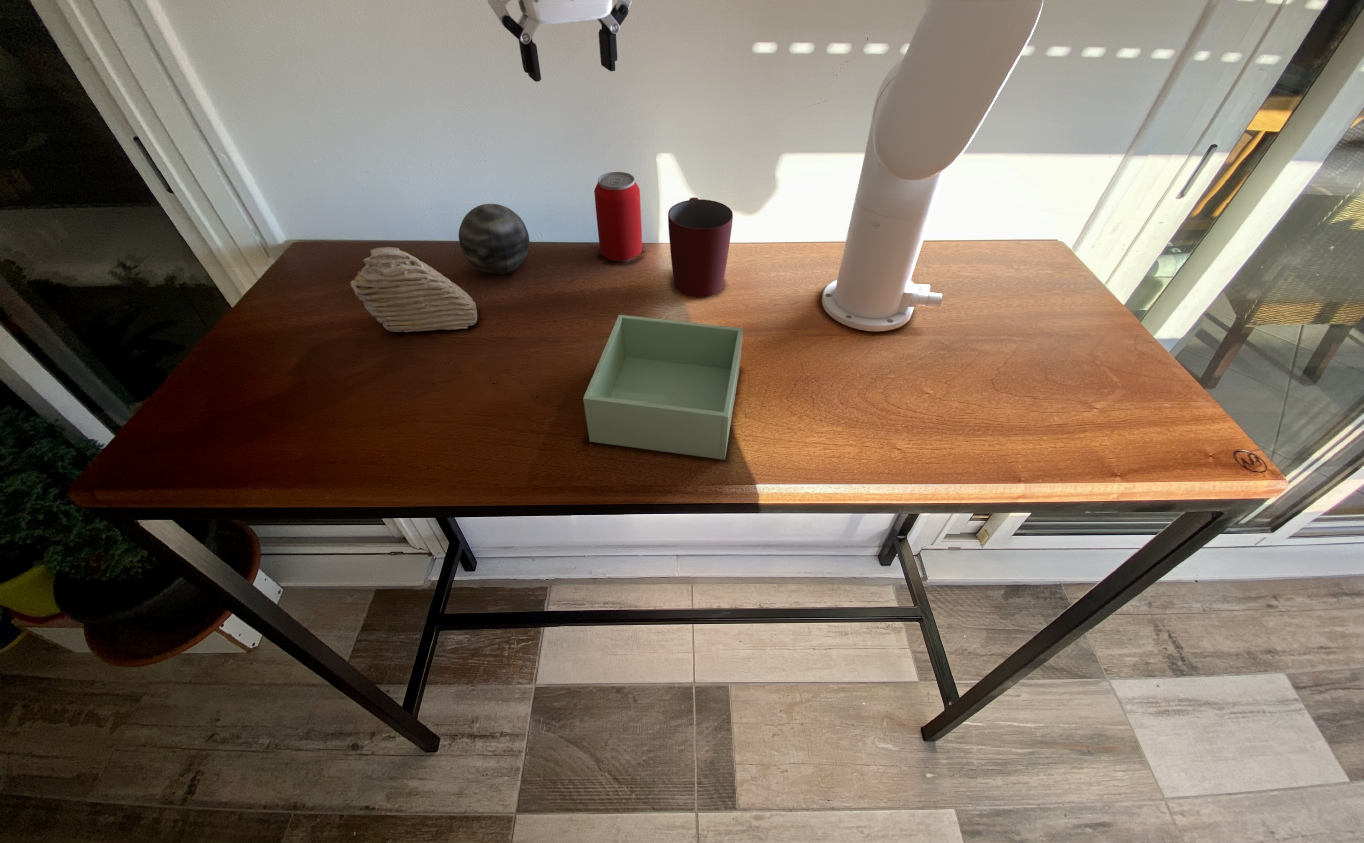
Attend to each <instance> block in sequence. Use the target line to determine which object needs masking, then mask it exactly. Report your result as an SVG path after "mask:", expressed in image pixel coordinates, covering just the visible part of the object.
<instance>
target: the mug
mask: <svg viewBox="0 0 1364 843" xmlns="http://www.w3.org/2000/svg"><path fill="white" fill-rule="evenodd" d="M667 212H668V213H667V225H668V239H669V249H670V260H671V270H672V280H673V287H674V288H675V289H676V290H677V292H679V293H681V294H682V295H686V296H688V297H693V298H694V297H695V298H704V297H711V296H713V295H715V294H717V293H719V292H720V291H721V290H722V288H723V287H724V281H725V275H726V268H727V263H728V256H729V249H730V243H731V237H732V230H733V229H732V228H733V220H734V219H733V218H734V213H733V211H732V209H731V208H730V207H729V206H727V205H726V204H724V203H722V202H719V201H717V200H711V199H699V198H698V197H690V198H689V199H688V200H687V199H686V200H683V201H680V202H677V203H675V204H673V205H672V206H671V207H670V208H669V210H668V211H667Z"/></svg>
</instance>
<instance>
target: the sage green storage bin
mask: <svg viewBox="0 0 1364 843" xmlns="http://www.w3.org/2000/svg"><path fill="white" fill-rule="evenodd" d="M743 335H744V328H743V327H736V326H726V325H719V324H718V325H717V324H708V323H700V322H690V321H689V322H688V321H681V320H672V319H671V320H670V319H663V318H653V317H643V316H634V315H627V314H618V316H617V318H616V320H615V323H614V325H613V327H612V330H611V332H610V334H609V337H608V340H607V342H606V344H605V346H604V349H603V351H602V354H601V355H600V358H599V359H598V362H597V364H596V367H595V370H594V372H593V375H592V377H591V379H590V381H589V384H588V386H587V388H586V391H585V393H584V396H583V398H582V401H583V407H584V413H585V414H584V415H585V420H586V427H587V433H588V440H589V443H591V442H592V443H596V444H597V443H598V444H605V445H612V446H620V447H627V448H635V449H640V450H641V449H642V450H648V451H649V450H650V451H656V452H664V453H672V454H679V455H685V456H695V457H700V458H701V457H702V458H707V459H708V458H709V459H717V460H723V461H724V460H726V455H727V449H728V443H729V436H730V431H731V425H732V419H733V413H734V406H735V400H736V394H737V387H738V382H739V376H740V368H741V357H742V349H743V338H744V336H743Z"/></svg>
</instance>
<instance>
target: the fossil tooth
mask: <svg viewBox="0 0 1364 843" xmlns="http://www.w3.org/2000/svg"><path fill="white" fill-rule="evenodd" d="M369 250H370V254H371V255H370V256H369V257H368V256H367V257H366V258H364V259H363V260H362V262H363V263H364V264H365V266H364V267H363V268H361V270H360V271H357V275H356V276H355V277H354V279H352V280H351V281H350V283H349V285H350V287H351V288H352V290H353V291H354V294H355V296H356V297H357V298H358V300H359V301H361V302H363V305H364V308H365V310H366V311H367V312H368V313H369V314H370V315H371V316H372V317H373V318H375V319H376V321H377V322H378V323H380V324H382V327H383V328H384V330H386V331H389V332H393V333H400V332H404V333H410V332H426V331H437V330H447V331H450V330H451V331H452V330H460V329H469V326H474V325H475V324H476V323H477V321H478V310H477V305H476V302H475V301H474V300H473V298H472V297H471V296H470V295H469V294H468V292H466V291H465V290H464V289H462V288H461V286H458V284H456V283H454V282H453V281H451V280H450V279H449V278H448V277H446V276H444V275H443V274H442V273H441V272H439V271H437V270H436V269H435V268H433V267H432V266H430V265H428V264H427V263H425V262H424V261H421V260H420V259H418V258H417V257H415V256H414V255H412V254H410V253H408V252H407V251H403V250H401V249H400V248H398V247H393V246H392V247H390V246H385V247H375V248H372V249H369Z"/></svg>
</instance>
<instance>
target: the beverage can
mask: <svg viewBox="0 0 1364 843" xmlns="http://www.w3.org/2000/svg"><path fill="white" fill-rule="evenodd" d="M593 193H594V204H595V216H596V224H597V226H596V227H597V234H598V236H597V237H598V243H599V245H598V246H599V251H600V254H601V255H602V256H603V257H604V258H607V259H609V260H610V261H614V262H626V261H631V260H633V259H635V258H636V257H638V256H640V254H641V253H642V251H643V234H642V232H643V231H642V229H643V228H642V208H641V189H640V187H639V185H638V184H637V181H636V180H635V177H634V176H633V175H632V174H631V173H628V172H624V171H611V172H605V173H603V174H601V175H600V176H599V177H598V178H597V183H596V186H595V187H594V192H593Z"/></svg>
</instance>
